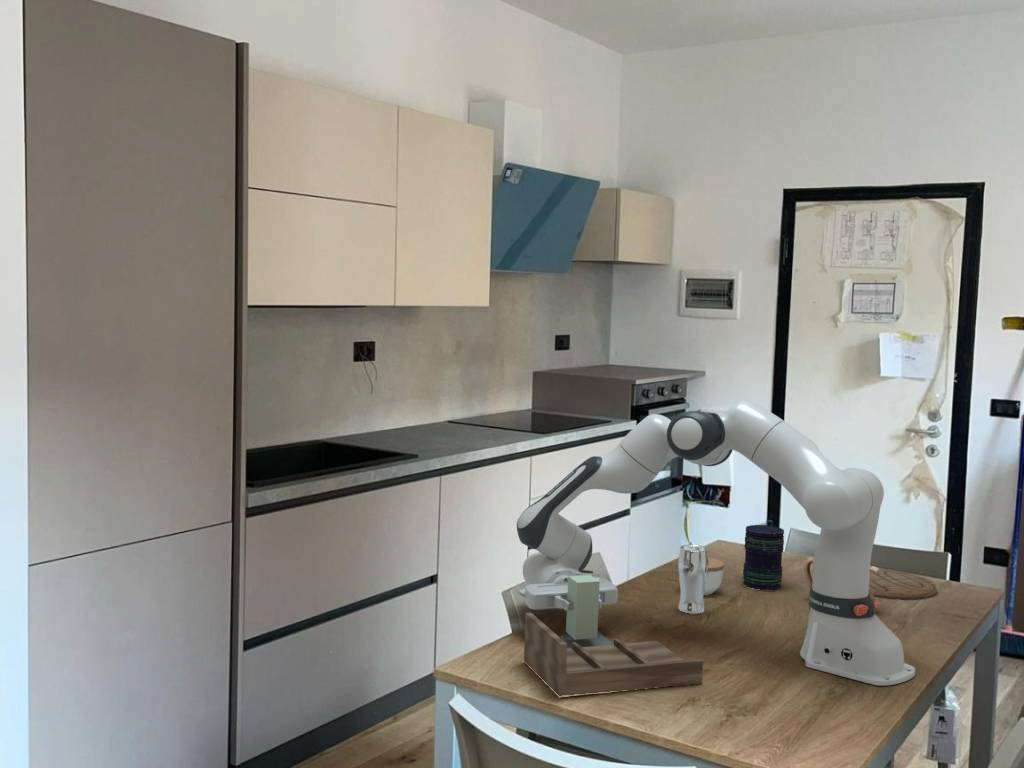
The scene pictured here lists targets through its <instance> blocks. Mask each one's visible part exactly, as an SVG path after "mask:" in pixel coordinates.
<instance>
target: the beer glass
mask: <svg viewBox="0 0 1024 768" xmlns="http://www.w3.org/2000/svg"><path fill="white" fill-rule="evenodd" d="M678 554H679V555H678V562H677V563H678V564H677V565H678V567H677V568H678V570H677V571H678V579H679V588H680V596H679V597H680V598H679V603H678V608H677V609H679V610H680V611H679V610H678V611H679V612H681V611H682V612H681V613H683V612H685V613H684V614H687V613H689V614H688V615H700V613H701V614H703V613H705V603H704V589H705V585H706V580H707V575H708V558H709V548H708V547H706V546H704V545H701V544H700V545H699V544H683V545H681V546H680V547H679V553H678ZM698 613H699V614H698Z"/></svg>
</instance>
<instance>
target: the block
mask: <svg viewBox="0 0 1024 768" xmlns="http://www.w3.org/2000/svg"><path fill="white" fill-rule="evenodd" d="M599 586H600V581H598V580H597V579H595V578H594V577H593V576H591V575H579V576H568V594H567V600H571V601H572V602H573V610H569V611H566V619H565V620H566V621H565V623H566V624H565V632H566V633H567V635H570V636H571V637H572V638H574V639H575V640H577V639H590V638H597V632H599V631H598V630H599V629H598V627H599V609H600V608H599Z"/></svg>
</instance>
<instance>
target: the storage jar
mask: <svg viewBox="0 0 1024 768" xmlns="http://www.w3.org/2000/svg"><path fill="white" fill-rule="evenodd" d="M784 534H785V530H784V529H783V528H781V527H779V526H773V525H767V524H765V525H764V524H750V525H747V526H745V537H744V546H743V547H744V550H745V555H744V563H743V569H742V576H743V577H742V578H743V581H742V585H743V584H744V585H746V586H747V587H750V588H754V589H760V590H777V589H780V588H781V589H782V584H781V583H782V580H783V566H782V561H783V560H782V557H783V553H784V550H785V548H784V545H785V538H784V537H785V536H784ZM744 585H743V586H744ZM747 587H746V588H747ZM781 589H780V590H781ZM777 591H778V590H777Z"/></svg>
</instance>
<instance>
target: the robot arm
mask: <svg viewBox="0 0 1024 768" xmlns="http://www.w3.org/2000/svg"><path fill="white" fill-rule="evenodd" d="M673 417H674V418H672V420H671V419H669V417H667V416H665V415H662V414H657V413H654V414H653V413H651V414H649V415H647V416H646V417H645V418H643V419H642V420H641V421H640V422H639V423H637V424H636V425H635V426H634V427H633V428H632V429H630V431H629V432H628V433H627V434H626V435H625V436H624V438H623V439H622V440H621V441H619V443H618V444H617V445H616V446H615V447H614V448H613V449H612V450H610V451H609V452H607V453H605V454H602V455H600V456H599V455H598V456H597V455H596V456H594V455H593V456H590V457H588V458H587V459H585V460H584V461H583V462H582V463H580V464H579V465H578V466H577V467H576V468H574V469H572V471H571V472H570V473H568V474H567V475H566V476H565V477H564V478H563V479H561V481H559V482H558V483H557V484H556V485H555V486H554V487H553V488H552V489H550V490H549V491H548V492H547V493H546V494H545V495H543V496H542V497H541V498H540V499H538V500H537V501H534V503H532V504H530V505H529V506H528V507H526V509H524V510H523V512H522V513H521V514H520V515H519V517H518V519H517V521H516V531H517V532H516V533H517V537H518V539H519V541H520V543H521V544H523V545H524V546H526V547H529V548H531V549H533V550H536V551H537V552H535V553H532V554H530V555H528V557H526V558H525V560H524V562H523V564H522V577H523V580H524V581H525V583H526V585H525V587H523V588H522V589H519V590H518V591H517V592H518V595H519V596H521V597H522V598H524V603H525V605H526V606H527V607H528V608H529V609H530V610H531V609H532V610H549V609H550V610H551V609H558V610H560V609H561V610H562V609H563V610H564V611H566V612H567V611H569V610H573V602H572V601H571V600H567V594H568V576H579V575H591V576H593V577H594V578H595V579H597V580H598V581H600V586H599V609H602V606H608V605H615V604H616V603H617V602H618V592H619V591H618V587H617V585H615V584H613V582H612V581H610V580H608V579H606V578H605V577H601V576H599V572H597V571H594V570H586V567H587V566H588V564H589V563H590V561H591V558H592V555H593V540H592V536H591V534H590V533H589V532H588V531H585V530H584V529H583V528H582V527H580V526H579V525H577V524H576V523H573V522H572V521H570V520H568V519H567V518H565V517H564V516H562V514H559V513H561V511H563V510H564V509H565V508H567V506H568V505H570V504H571V503H572V502H573V501H574V500H576V499H577V497H579V496H580V495H581V494H583V493H584V492H586V491H589V490H605V491H609V492H614V493H617V494H626V495H627V494H629V495H630V494H636V493H640V492H641V491H643V490H644V489H646V488H647V487H648V486H649V485H651V483H652V482H653V481H654V480H655V479H656V477H657V476H658V475H659V473H660V472H661V471H662V470H663V469H664V467H665V466H666V465H667V464H668V463H669V462H670V461H672V460H673V459H675V458H680V459H682V460H685V461H687V462H690V463H692V464H695V465H698V466H699V465H700V466H705V467H714V466H719V465H721V464H723V463H724V462H725V461H727V460H728V458H729V457H730V456H731V454H733V453H732V452H733V451H735V452H738V453H739V454H741V455H742V456H743V457H745V458H747V460H749V461H750V462H752V463H753V464H754V465H755V466H756V467H758V468H759V469H761V471H763V472H764V473H766V474H767V475H768V476H770V477H771V478H773V479H774V480H775V481H776V482H777V483H779V484H780V485H781V486H783V488H785V490H786V491H787V492H788V494H790V495H791V496H792V497H793V498H794V499H795V501H796V502H798V504H799V505H800V506H801V507H802V508H803V509H804V511H805V513H806V516H807V518H808V520H810V521H811V523H813V524H814V525H815V526H816V527H818V528H821V529H820V533H819V536H818V540H817V543H816V546H815V547H814V550H813V551H814V552H813V557H814V562H813V563H812V565H813V566H812V587H811V588H810V587H809V593H808V594H809V596H808V608H809V616H808V623H807V627H806V633H805V638H804V640H803V643H802V646H801V649H800V651H799V656H800V657H801V658H802V659H804V661H805V663H804V664H805V667H807V668H810V669H813V670H818V671H822V672H825V673H827V674H828V673H829V674H832V675H836V676H839V677H843V678H848V679H851V680H855V681H859V682H863V683H866V684H870V685H872V686H873V685H874V686H892V685H898V684H900V683H904V682H906V681H909V680H912V679H913V678H914V677H915V675H916V668H915V666H913V665H911V664H909V663H906V662H905V655H904V648H903V645H902V644H903V643H902V642H901V640H900V639H899V638H898V637H897V635H896V634H894V633H893V631H891V629H890V628H888V626H887V625H886V624H885V623H884V622H883V621H882V620H881V619H880V618H879V617H878V616H877V615H876V613H877V612H876V608H879V607H881V605H880V603H881V601H880V600H878V601H875V602H874V603H873V601H872V599H871V596H870V594H869V593H868V592H869V576H870V566H871V560H872V552H873V547H874V543H875V539H876V535H877V528H878V524H879V517H880V512H881V507H882V504H883V501H884V495H885V490H884V486H883V484H882V481H881V480H880V479H879V477H878V476H877V475H875V473H873V472H871V471H870V470H866V469H863V468H859V467H848V468H845V469H840V468H838V467H837V466H836V465H835V464H833V463H832V462H831V460H829V459H828V458H827V457H826V456H825V455H824V454H823V453H822V451H821V450H820V449H819V447H818V446H817V444H816V443H815V441H812V440H811V439H810V438H809V437H807V436H806V435H804V434H803V433H802V432H800V431H799V430H797V429H796V428H795V427H793V426H792V425H790V424H789V423H788V422H787V421H785V420H784V419H782V418H781V417H779V416H778V415H776V414H774V413H773V412H771V411H769V410H767V409H765V408H763V407H762V406H760V405H757V404H755V403H753V402H751V401H747V400H745V401H743V400H742V401H738V402H736V403H734V404H732V405H731V406H730V407H729V408H728V409H727V410H726V411H725V412H724V413H723V415H720V416H719V414H718V413H715V412H708V411H700V410H688V411H684V412H681V413H679V414H676V416H673Z"/></svg>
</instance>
